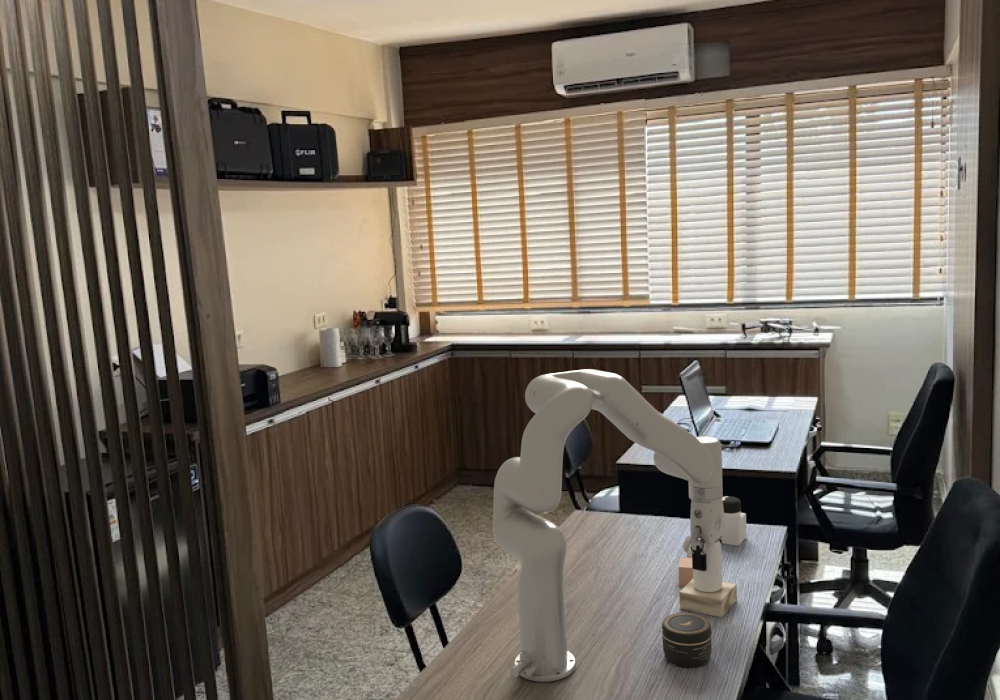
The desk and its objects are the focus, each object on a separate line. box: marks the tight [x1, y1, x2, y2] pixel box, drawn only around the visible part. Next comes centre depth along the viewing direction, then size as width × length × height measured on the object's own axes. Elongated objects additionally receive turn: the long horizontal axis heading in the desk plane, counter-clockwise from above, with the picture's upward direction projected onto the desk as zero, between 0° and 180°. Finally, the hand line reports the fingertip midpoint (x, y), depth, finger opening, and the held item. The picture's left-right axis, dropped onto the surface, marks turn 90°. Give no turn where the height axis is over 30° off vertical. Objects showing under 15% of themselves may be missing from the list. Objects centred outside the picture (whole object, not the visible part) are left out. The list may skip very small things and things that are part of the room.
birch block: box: [679, 579, 738, 618], centre depth 198 cm, size 10×10×4 cm
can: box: [693, 539, 723, 593], centre depth 197 cm, size 6×6×12 cm
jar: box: [661, 612, 713, 669], centre depth 174 cm, size 10×10×8 cm
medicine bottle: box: [719, 495, 747, 547], centre depth 235 cm, size 7×7×12 cm
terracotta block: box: [677, 557, 693, 587], centre depth 210 cm, size 6×6×5 cm
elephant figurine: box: [682, 535, 692, 558], centre depth 220 cm, size 8×10×7 cm
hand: (707, 562), depth 196 cm, fingers open, 9 cm apart
